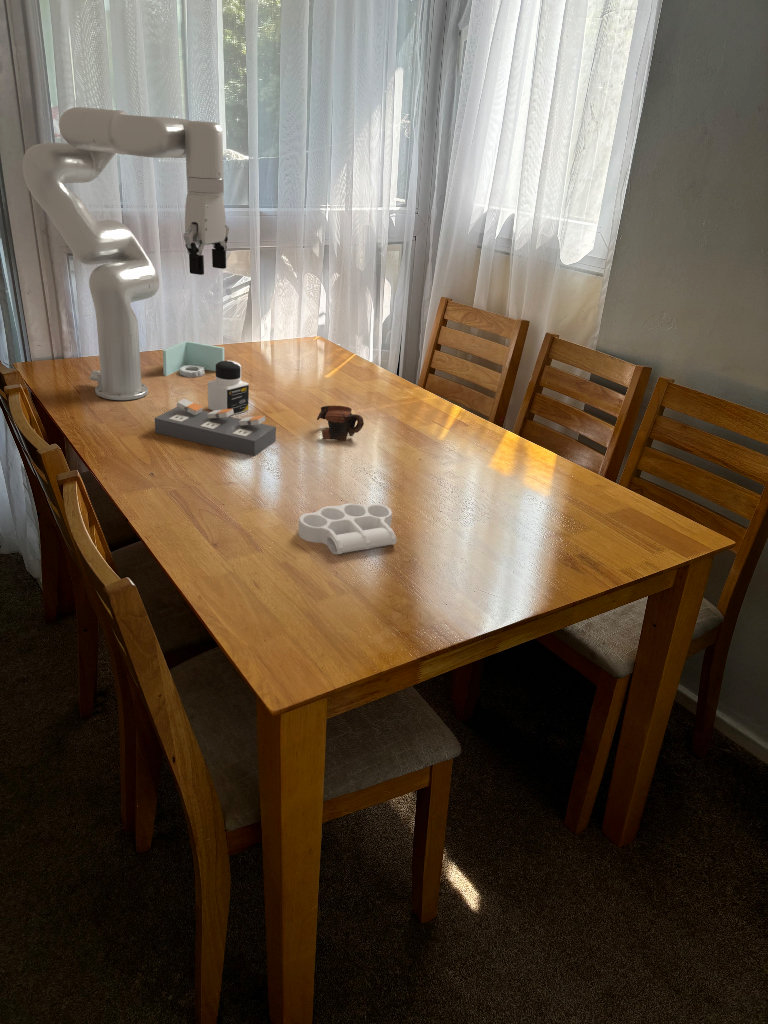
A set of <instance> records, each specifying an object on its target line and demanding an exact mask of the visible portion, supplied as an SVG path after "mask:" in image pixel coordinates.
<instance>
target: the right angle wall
mask: <svg viewBox="0 0 768 1024" xmlns="http://www.w3.org/2000/svg"><path fill="white" fill-rule="evenodd" d="M221 361H225V347H223V346H217V345H212V344H207V343H201V342H196V341H190V340H184V341H181V342H179V343H177V344H175V345H172V346H170V347H168V348H165V349H163V350H162V363H163V364H162V366H163V368H162V370H163V376H164V377H168V376H170V375H172V374H174V373H176V372H178V371H179V375H181V376H183V377H187V378H196V377H198V378H199V377H202V376H204V375H205V373H206V371H211V372H216V364H217V363H218V362H221ZM205 370H206V371H205Z"/></svg>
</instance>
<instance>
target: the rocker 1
mask: <svg viewBox="0 0 768 1024" xmlns="http://www.w3.org/2000/svg"><path fill="white" fill-rule="evenodd" d="M176 407H180V408H182V409H184V410H185V411H187V412H189V413H191V414H193V415H197V414H199V413H200V412H202V410H203V409H204V407H203V406H202V405H199V404H197V403H195V402H193V401H191V400H188V399H186V398H182V399H180V400H179V401H177V403H176ZM203 411H204V410H203Z"/></svg>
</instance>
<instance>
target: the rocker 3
mask: <svg viewBox="0 0 768 1024" xmlns="http://www.w3.org/2000/svg"><path fill="white" fill-rule="evenodd" d="M241 419H242V420H240V421H239V424H240V425H257V424H263V423H264V422H266V416H265V415H254V416H244V418H241Z"/></svg>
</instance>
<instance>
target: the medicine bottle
mask: <svg viewBox="0 0 768 1024" xmlns="http://www.w3.org/2000/svg"><path fill="white" fill-rule="evenodd" d="M249 384H250V383H249V382H246V381H243V380H242V365H241V364H240V363H239V362H237V361H234V360H224V361H221V362H218V363H217V364H216V371H215V379H214V380H213V379H212V380H209V381H207V408H208V410H210V411H211V412H212V411H214V410H223V409H233V411H234V414H232V415H230V417H232V416H235V415H237V414H241V413H245V412H248V411H249V401H250V399H249V398H250V397H249V392H250V391H249V389H250V388H249V387H250V385H249Z"/></svg>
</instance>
